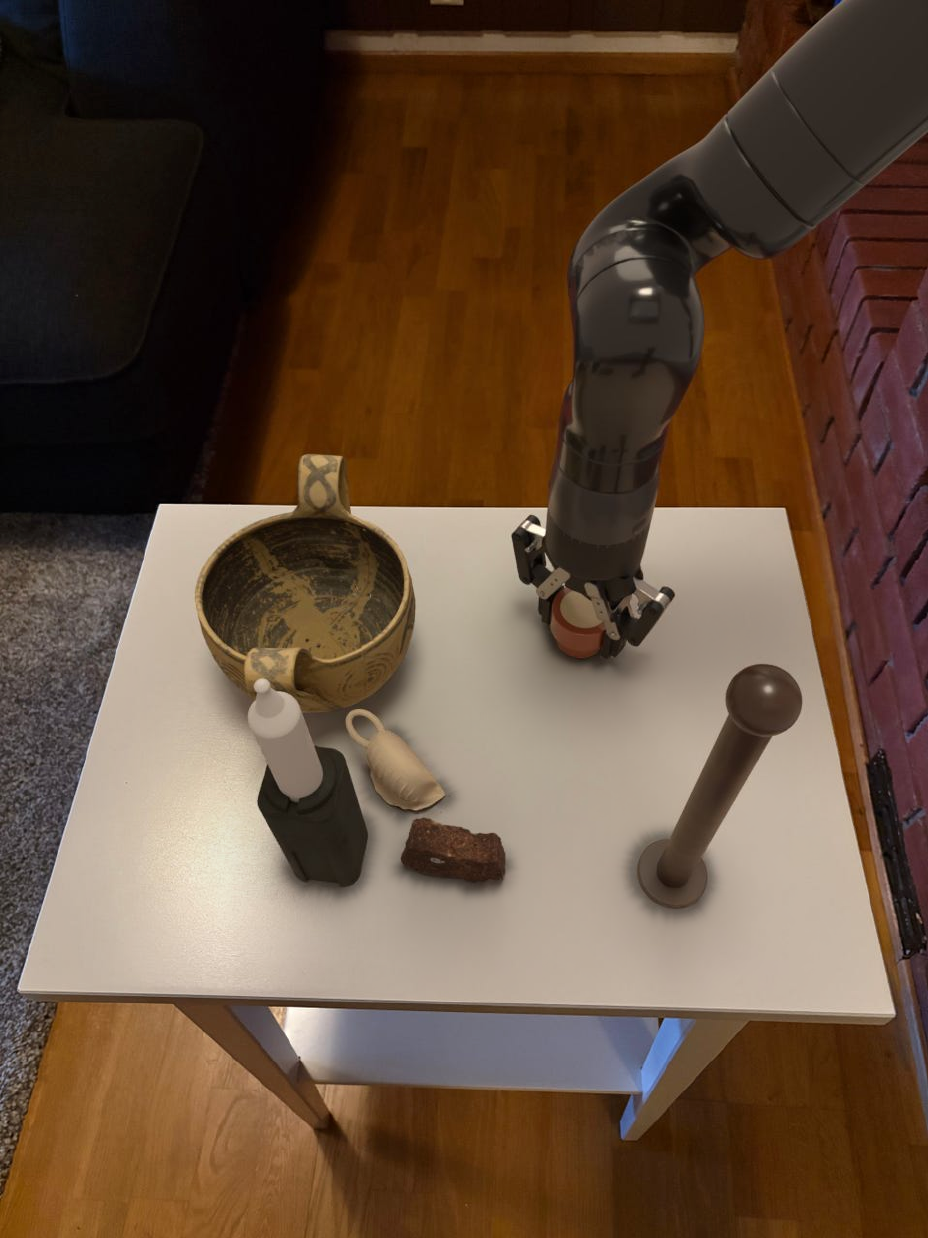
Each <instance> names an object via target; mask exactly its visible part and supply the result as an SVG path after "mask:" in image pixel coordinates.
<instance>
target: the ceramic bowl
mask: <svg viewBox="0 0 928 1238" xmlns="http://www.w3.org/2000/svg"><path fill="white" fill-rule="evenodd" d="M347 471H348V470H347V463H346V459H345V457H344V456H343V455H331V454H319V453H318V454H317V453H306V454H304V455H302V456H300V457H299V460H298V469H297V505H296V507H294V509H293V510H292V511H290V512H284V513H279V514H276V515H272V516H269V517H266V518H263V519H260V520H258V521H255V522H252V523H251V524H249V525H246V526H244V527H242V528H240V529H239V530H238V531H237V532H234V533H233V534H231V535H230V536H229V537H228V538H226V539H224V541H223V542H222V543H221V544H220V545H219V546H218V547H217V548H216V549H215V550H214V551H213V552H212V554H211V555H210V556H209V558H208V559H206V562H205V563H204V565H203V566H202V568H201V570H200V572H199V575H198V577H197V580H196V584H195V588H194V604H195V609H196V612H197V618H198V621H199V625H200V629H201V634H202V636H203V639H204V641H205V643H206V646H207V647H208V650H209V652H210V654H211V656H212V658H213V660H214V662H215V663H216V664H217V665H218V667H219V668H220V670H221V672H222V673H223V674H224V675H225V677H226V678H228V680H230V682H231V683H232V684H233V685H234V686H235V687H237V688H238V689H239V690H240V691H242V692H243V693H244V694H245V695H247V696H248V697H250V698H251V699H253V700H254V701H255V700H256V697H257V692H256V691H255V689H254V684H255V682H256V681H257V680H258V679H262V678H264V679H266V680H268V681H269V683H270V687H271V688H272V689H273V690H275V691H281V692H285V693H288V694H289V695H291V696H292V697H293V698H294V699H295V700H296V701H297V702H298V704H299V706H300V709H301V711H302V713H327V712H333V711H338V710H341V709H346V708H349V707H351V706H354V705H356V704H358V703H360V702H362V701H363V700H366V699H367V698H368V697H370V696H372V695H373V694H374V693H376V692H377V691H378V690H379V689H381V688H382V686H383V685H384V684H385V683H386V682H387V681H388V680H389V679H390V678H391V677H392V676H393V675H394V673H395V672H396V670H397V669H398V667H399V666H400V665H401V663H402V661H403V659H404V658H405V656H406V655H407V651H408V648H409V645H410V642H411V640H412V636H413V632H414V628H415V623H416V622H415V621H416V596H415V590H414V585H413V578H412V576H411V573H410V570H409V567H408V564H407V559H406V558H405V557H406V556H405V555H404V553H403V551H402V550H401V548H400V547H399V545H398V544H397V543H396V541H395V540H394V539H392V538H393V537H391V536H390V535H389V534H388V533H387V532H386V531H384V530H383V529H382V528H380V527H379V526H377V525H376V524H373V523H372V522H370V521H367V520H364V519H361V518H359V517H357V516H355V515H353V514H352V511H351V510H352V509H351V500H350V491H349V481H348V472H347Z"/></svg>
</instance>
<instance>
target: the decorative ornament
mask: <svg viewBox="0 0 928 1238" xmlns="http://www.w3.org/2000/svg"><path fill="white" fill-rule="evenodd" d="M356 716H361V717H364V718H366V719H368V720H369V721H370V722H372V724H373V725H374V727H375V728H376V729H377V732H376V733H375V734H373V735H372V736H371V738H370V739H366V738H364V737H363V736H362V735H360V734H359V733H358V732H357V730H356V729H355V728H354V725H353V719H354V717H356ZM345 727H346V730H347V733H348V735H350V737H351V738H352V739H353V740H354V741H355V742H356V743H357V744H358V745H360V746H362V747H364V748H365V750H364V752H365V760H366V763H367V765H368V767H369V770H370V775H369V776H370V779H371V781H372V783H373V787H374V790H375V792H376V793H377V794H378V795H380V796H381V797H382V799H383V800H384V802H386V803H387V804H388V805H391V806H397V807H399V808H401V809H402V810H409V809H411V810H413V811H417V812H418V811H420V810H423V809H428V808H429V807H431V806H434V805H435V804H437V802H439V801H440V800H442V799H443V798H444V797H445V796H446V793H445V791H444V790H443V788H442V787H441V785H440V784H439V781H437V779H436V777H435V776H434V774H433V773H432V772H431V770H430V769H429V768H428V767H427V766H426V764H425V763H424V762H423V761H422V760H421V759H420V758H419V756H418V755H417V754H416V753H415V752H414V751H413V750H412V749H411V748H410V746H408V744H407V743H406V742H405V741H404V740H403V739H402V738H401V737H400V736H398V735H397V734H396V733H394V732H393V731H390V730H388V729H385V727H384V724H383V723H382V721H381V720H380V719H379V717H378V716H376V715H375V714H374V713H372V712H371V711H370V710H367V709H363V708H354V709H352V710H350V711H349V712H348V714H347V715H346V717H345Z"/></svg>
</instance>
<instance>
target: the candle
mask: <svg viewBox="0 0 928 1238" xmlns="http://www.w3.org/2000/svg"><path fill="white" fill-rule="evenodd" d="M254 689H255V691H256V692H257V697H256V700H254V701H253V702H252V704H251V705H250V707H249V709H248V713H247V724H248V726H249V728H250V731H251V732H252V735H253V736H254V739H255V741H256V743H257V745H258V747H259V749H260V751H261V754H262V755H263V758H264V759H265V762H266V768H265V771H264V774H263V777H262V780H261V784H260V788H259V790H258V793H257V799H256V804H257V807H258V810H259V811H260V813H261V815H262V817H263V819H264V821H265V822H266V824H267V826H268V828H269V830H270V832H271V834H272V835H273V837H274V839H275V841H276V842H277V844H278V846H279V848H280V850H281V852H282V854H283V855H284V857H285V859H286V861H287V862H288V864H289V867H290V868H291V870H292V873H294V875H295V877H296V878H297V879H298V880H300V881H301V882H304V883H308V882H309V881H315V882H321V883H322V882H323V883H329V884H330V883H331V884H337V885H338V886H339V887H342V888H345V887H350V886H352V885H353V884H355V883H356V882H357V881H358V879H359V878H360V876H361V872H362V867H363V862H364V859H365V852H366V850H367V849H366V848H367V844H368V838H369V832H368V829H367V825H366V822H365V818H364V815H363V811H362V808H361V806H360V802H359V798H358V796H357V793H356V788H355V786H354V782H353V780H352V779H353V778H352V776H351V772H350V769H349V766H348V762H347V760H346V758H345V755H344V754H343V752H341V750H339V749H336V748H332V747H326V746H318V745H315V744H314V742H313V738H312V736H311V734H310V731H309V728H308V726H307V723H306V720H305V717H304V715H303V712H302V711H301V709H300V706H299V704H298V702H297V701H296V700H295V699H294V698H293V697H292V696H291V695H289V694H288V693H285V692H281V691H275V690H273V689H272V688H271V687H270V683H269V681H268V680H266V679H264V678H262V679H258V680H257V681H256V682H255V684H254Z"/></svg>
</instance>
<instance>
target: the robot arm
mask: <svg viewBox="0 0 928 1238" xmlns="http://www.w3.org/2000/svg"><path fill="white" fill-rule="evenodd" d="M927 133H928V0H841V1H840V2H839V3H838V4H837V5H835V6H834V7H833V8H832V9H831V10H829V11H828V12H827V13H826V14H825V15H824V16H823V17H822V18H821V19H819V20H818V21H817V22H816V23H815V24H814V25H813V26H811V27H810V29H809V30H807V32H805V33H804V34H803V36H801V37H800V38H799V39H798V40H797V41H796V42H795V43H794V44H793V45H792V46H790V48H789V49H788V50H787V51H785V53H784V54H783V55H782V56H781V57H780V58H779V59H777V61H776V62H775V63H774V65H772V66H771V67H770V68H769V69H768V70H767V71H766V72H765V74H764V75H762V76H761V77H760V79H758V80H757V82H756V83H755V84H754V85H753V86H752V87H751V88H750V89H749V90H748V91H747V92H746V93H744V95H743V96H742V97H740V99H739V100H738V101H737V102H736V103H735V104H733V107H731V108H730V109H729V110H728V111H727V113H726V114H724V115H723V116H722V117H721V119H720V120H719V121H717V123H716V124H715V125H714V127H712V128H711V130H710V131H709V132H708V133H707V134H706V135H705V136H704V138H702V139H701V140H700V141H698V142H697V143H695V144H694V145H692V146H691V147H689V148H688V149H685V150H684V151H682V152H680V153H679V154H677V155H675V156H674V157H672V158H671V159H668V160H667V161H666V162H664V163H663V164H662V165H660V166H659V167H657V168H656V169H655V170H653V171H652V172H650V173H649V174H648V175H646V176H645V177H644V178H642V179H640V180H639V181H638V182H636V183H635V184H633V185H632V186H630V187H629V188H627V189H626V190H625V191H623V192H622V193H620V194H619V195H618V196H616V198H613V200H612V201H610V202H609V203H608V204H607V205H606V206H605V207H604V208H602V210H601V211H599V213H598V214H597V215H596V216H595V217H594V218H593V219H592V221H591V222H590V223H589V224H588V226H587V227H586V228H585V230H584V231H583V232H582V234H581V236H580V237H579V239H578V240H577V242H576V243H575V246H574V247H573V250H572V252H571V254H570V257H569V261H568V265H567V271H566V284H567V285H566V286H567V294H568V303H569V311H570V321H571V328H572V329H571V330H572V341H573V342H572V343H573V344H572V345H573V348H572V349H573V350H572V351H573V352H572V353H573V355H572V356H573V357H572V358H573V359H572V360H573V362H572V379H571V381H569V384H568V385H567V387H566V389H565V392H564V395H563V397H562V401H561V404H560V411H559V418H558V429H557V438H556V439H557V441H556V451H555V455H554V459H553V462H552V466H551V471H550V475H549V476H550V477H549V482H548V498H547V509H546V521H545V527H544V526H542V523H541V520H540V518H539V517H538V516H536V515H535V514H529V515H528V516H527V517H526V518H525V519H524V520H523V521H522V522H521V523H520V524H519V525H518V526H517V528H516V529H515V530H514V531H513V532H512V533H511V534H510V535H511V536H510V537H511V542H512V548H513V553H514V559H515V563H516V570H517V575H518V579H519V581H520V582H521V583H522V584H524V585H525V586H530V585H533V586H534V587H535V588H536V589H535V593H536V595H537V596H538V603H537V612H538V614H539V616H541V623H543V624H545V625H546V626H548V627H549V626H550V619H551V610H552V603H553V600H554V598H555V596H556V595H557V593H558V592H559V591H560V590H562V589H563V588H565V587H567V588H569V589H571V590H572V591H575V592H578V593H581V594H582V595H583V596H585V597H586V598H587V599H588V600H590V601H592V604H593V607H594V610H595V613H596V616H597V619H599V620H603V623H604V627H605V630H606V632H605V634H604V638H603V643H602V647H601V649H600V653H599V657H601V658H602V659H604V660H606V661H608V660H609V659H610V658H613V659H616V658H617V657H618V656H619V655H620V653H621V652H622V650H624V648H625V647H626V646H627V643H628V644H629V645H630V646H632V647H635V648H639V647H640V645H641V644H642V643H643V641H644V640H645V639H646V638H647V636H648V635H649V634H650V633H651V631H652V630H653V628H654V627H655V625H657V623H658V621H659V620H660V618H661V617H662V616H663V615H664V613H665V611H666V610H667V609H668V607H669V606H670V605H671V603H672V602H673V600H674V599H675V597H676V593H675V591H674V590H673V589H672V588H671V587H670V586H664V585H663V586H662V587H661V588H659V590H657V589H656V588H655V587H653V586H652V585H651V584H649V583H648V582H646V581H645V580H644V578H645V577H644V576H645V575H644V573H643V570H642V566H641V564H642V560H643V557H644V554H645V550H646V545H647V540H648V536H649V532H650V530H651V529H650V528H651V524H652V520H653V515H654V512H655V508H656V503H657V499H658V494H659V489H660V473H661V472H660V471H661V465H662V460H663V456H664V453H665V452H664V451H665V447H666V442H667V439H668V434H669V430H670V429H669V428H670V423H671V421H672V419H673V417H674V416H675V414H676V413H677V412H678V409H679V408H680V405H681V403H682V401H683V400H684V398H685V396H686V394H687V392H688V390H689V388H690V386H691V384H692V382H693V380H694V377H695V376H696V372H697V369H698V368H699V363H700V360H701V355H702V351H703V345H704V338H705V326H706V324H705V321H706V320H705V309H704V305H703V301H702V296H701V293H700V290H699V285H698V282H697V278H696V275H697V274H698V273H699V272H701V270H702V269H703V268H704V267H706V266H707V265H708V264H709V263H711V262H713V261H714V260H716V259H717V258H719V257H721V256H722V255H724V254H725V253H727V252H728V251H730V250H731V249H734V250H735V251H736V252H738V253H739V254H741V255H743V256H745V257H747V258H749V259H752V260H756V261H767V260H771V259H773V258H776V257H778V256H780V255H782V254H784V253H785V252H786V251H788V250H790V249H791V248H793V247H794V246H795V245H796V244H798V243H799V242H800V241H802V240H803V239H804V238H806V236H808V235H809V234H810V233H811V232H813V230H815V229H816V227H817V226H819V225H821V224H823V222H824V221H825V220H826V219H828V218H829V217H830V216H831V215H833V213H835V212H836V211H837V210H838V209H839V208H841V207H842V206H843V205H844V204H845V203H847V201H849V200H850V199H851V198H852V197H854V196H855V194H857V193H858V192H859V191H861V189H863V188H864V187H866V185H868V184H869V183H870V182H871V181H872V180H873V179H874V178H876V177H877V176H878V175H879V174H881V173H882V172H883V171H884V170H886V169H887V167H889V165H891V164H892V163H893V162H894V161H895V160H897V159H898V158H899V157H900V156H901V155H903V154H904V153H905V152H906V151H907V150H909V149H910V148H911V147H912V146H913V145H914V144H916V143H917V142H918V141H919V140H920V139H921V138H923V137H924V136H925V135H926V134H927ZM546 557H547V559H548V561H549V562H550V564H551V566H552V568H553V570H552V571H551V570H550V569H549V568H548V567H547V559H546ZM633 596H635V598H636V599H637V607H638V609H637V610H636V614H637V615H638V616H639V618H638V617H635V614H634V611H633V607H632V604H631V601H632V598H633Z"/></svg>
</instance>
